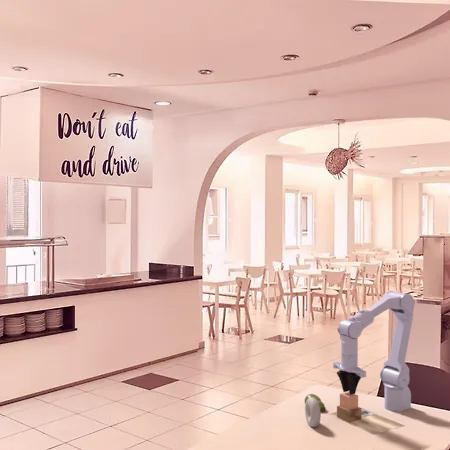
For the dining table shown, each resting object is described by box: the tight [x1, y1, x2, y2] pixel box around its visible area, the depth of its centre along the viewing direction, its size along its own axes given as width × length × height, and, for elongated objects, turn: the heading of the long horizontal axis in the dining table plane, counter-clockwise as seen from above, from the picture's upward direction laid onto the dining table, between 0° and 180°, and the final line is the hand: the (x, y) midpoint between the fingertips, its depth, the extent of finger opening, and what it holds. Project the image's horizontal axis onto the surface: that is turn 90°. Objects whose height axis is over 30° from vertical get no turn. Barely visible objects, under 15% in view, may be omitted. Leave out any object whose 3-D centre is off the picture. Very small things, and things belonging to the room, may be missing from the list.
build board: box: [328, 407, 405, 435], centre depth 196 cm, size 15×22×1 cm
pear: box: [304, 393, 326, 413], centre depth 208 cm, size 6×5×10 cm
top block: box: [339, 391, 359, 410], centre depth 197 cm, size 4×4×4 cm
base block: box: [336, 404, 362, 423], centre depth 197 cm, size 6×6×4 cm
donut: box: [304, 397, 321, 428], centre depth 191 cm, size 10×4×10 cm, turn 8°
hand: (349, 392), depth 197 cm, fingers open, 3 cm apart
